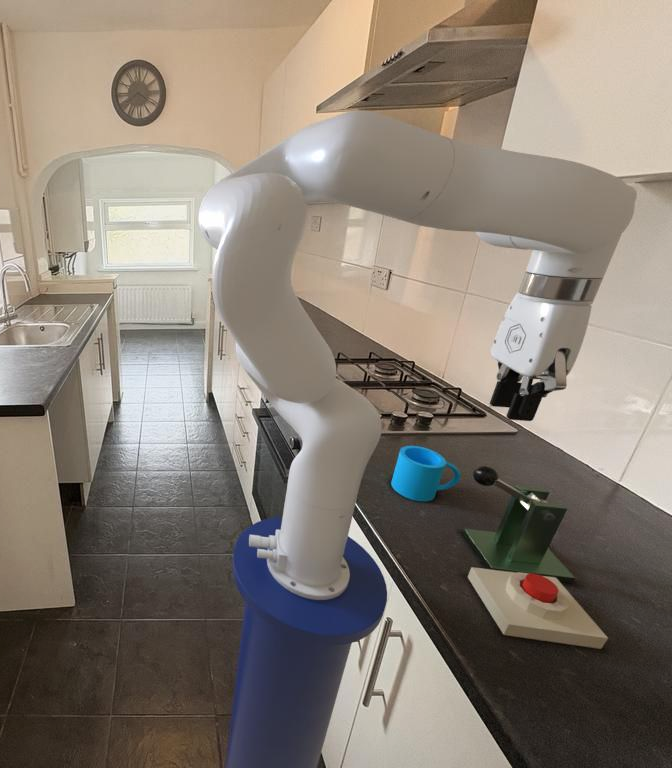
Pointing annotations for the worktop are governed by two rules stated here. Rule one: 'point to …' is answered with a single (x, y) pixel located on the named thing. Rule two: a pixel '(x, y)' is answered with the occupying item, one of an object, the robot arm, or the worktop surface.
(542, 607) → the button block
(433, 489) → the mug
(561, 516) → the bracket
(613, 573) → the worktop surface
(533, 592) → the button
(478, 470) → the lever
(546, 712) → the worktop surface
